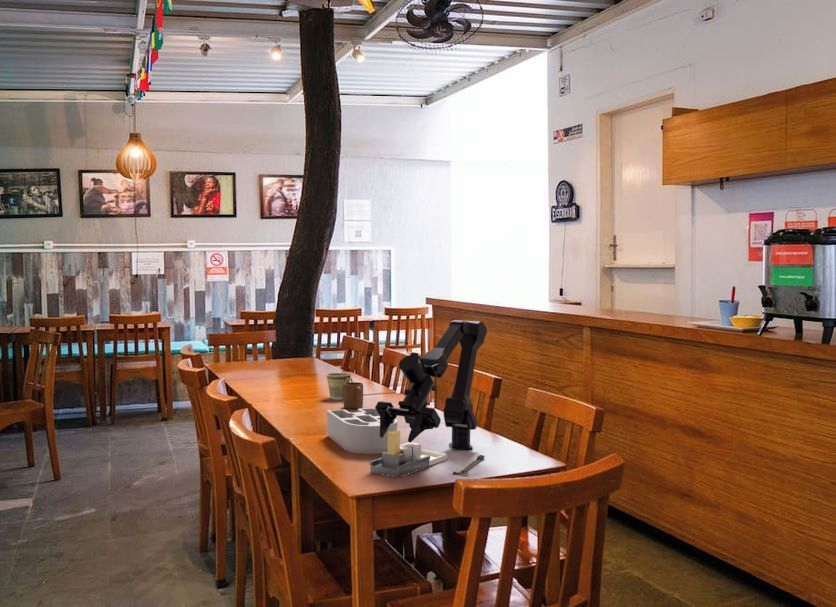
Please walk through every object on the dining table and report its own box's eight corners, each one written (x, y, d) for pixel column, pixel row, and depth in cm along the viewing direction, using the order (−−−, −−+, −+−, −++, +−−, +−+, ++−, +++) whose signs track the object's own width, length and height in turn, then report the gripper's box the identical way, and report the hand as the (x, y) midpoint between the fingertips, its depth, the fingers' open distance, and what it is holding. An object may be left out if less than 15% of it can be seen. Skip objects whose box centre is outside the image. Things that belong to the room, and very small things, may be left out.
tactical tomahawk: (475, 481, 208) (475, 477, 208) (451, 476, 211) (452, 472, 211) (499, 462, 227) (500, 458, 227) (477, 457, 230) (478, 454, 230)
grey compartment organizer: (375, 433, 261) (375, 407, 261) (405, 452, 235) (405, 424, 235) (326, 436, 255) (326, 410, 254) (351, 457, 229) (351, 427, 228)
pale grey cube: (399, 459, 218) (400, 445, 218) (411, 461, 216) (412, 447, 216) (391, 462, 215) (391, 447, 214) (403, 464, 212) (403, 449, 212)
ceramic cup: (321, 398, 326) (321, 374, 325) (338, 395, 333) (339, 372, 333) (343, 402, 317) (343, 377, 317) (360, 399, 325) (360, 375, 324)
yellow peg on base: (388, 462, 215) (388, 429, 214) (405, 465, 212) (405, 432, 211) (381, 464, 212) (382, 431, 212) (398, 467, 209) (399, 434, 209)
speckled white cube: (408, 456, 222) (409, 442, 221) (420, 458, 219) (421, 444, 219) (400, 459, 218) (401, 444, 218) (412, 461, 216) (413, 446, 216)
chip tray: (421, 454, 232) (421, 449, 232) (447, 459, 227) (447, 454, 227) (402, 461, 224) (402, 456, 223) (429, 466, 219) (429, 461, 219)
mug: (369, 410, 300) (369, 386, 299) (350, 411, 297) (350, 387, 296) (359, 405, 311) (359, 381, 310) (340, 406, 308) (341, 382, 308)
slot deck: (401, 461, 224) (401, 450, 223) (429, 466, 218) (430, 455, 218) (369, 472, 211) (369, 461, 211) (399, 478, 206) (399, 467, 206)
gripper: (456, 414, 220) (434, 461, 212) (401, 407, 231) (378, 451, 222) (442, 390, 213) (419, 437, 205) (386, 383, 224) (362, 428, 215)
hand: (394, 439), depth 212 cm, fingers open, 9 cm apart
